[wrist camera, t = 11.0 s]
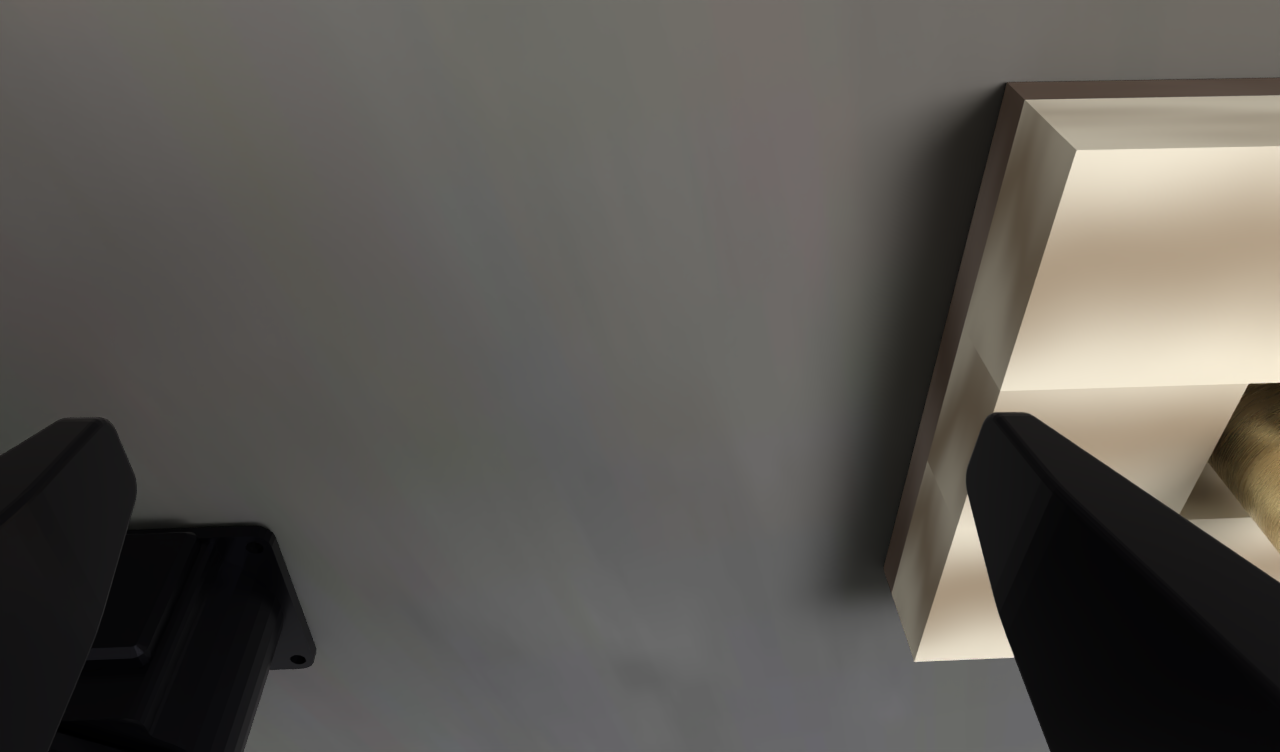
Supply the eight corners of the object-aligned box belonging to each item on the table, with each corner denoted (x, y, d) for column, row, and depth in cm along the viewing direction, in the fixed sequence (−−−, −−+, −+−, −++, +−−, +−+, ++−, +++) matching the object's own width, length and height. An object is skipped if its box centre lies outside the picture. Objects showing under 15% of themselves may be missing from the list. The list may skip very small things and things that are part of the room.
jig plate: (1359, 550, 30) (1437, 639, 27) (883, 568, 29) (914, 661, 27) (1711, 70, 20) (1890, 134, 17) (1007, 82, 20) (1076, 150, 17)
